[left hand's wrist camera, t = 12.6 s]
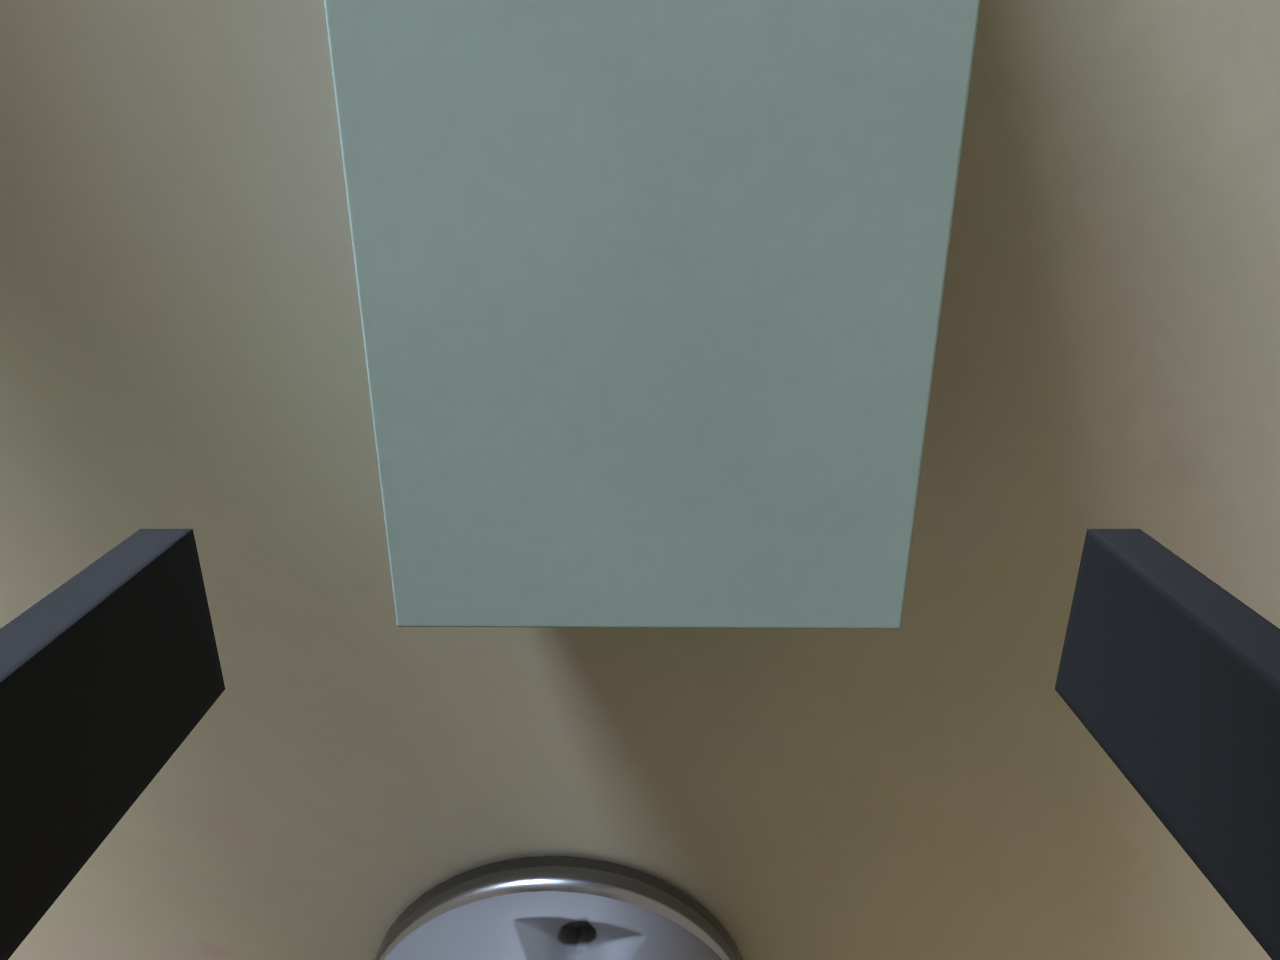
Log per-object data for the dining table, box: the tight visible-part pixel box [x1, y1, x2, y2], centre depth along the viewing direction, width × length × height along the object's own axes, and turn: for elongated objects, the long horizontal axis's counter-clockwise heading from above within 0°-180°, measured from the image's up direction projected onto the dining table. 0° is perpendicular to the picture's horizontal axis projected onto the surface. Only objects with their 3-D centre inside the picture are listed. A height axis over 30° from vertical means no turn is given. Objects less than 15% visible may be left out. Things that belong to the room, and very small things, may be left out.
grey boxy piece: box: [324, 0, 981, 629], centre depth 19 cm, size 18×11×9 cm, turn 0°
